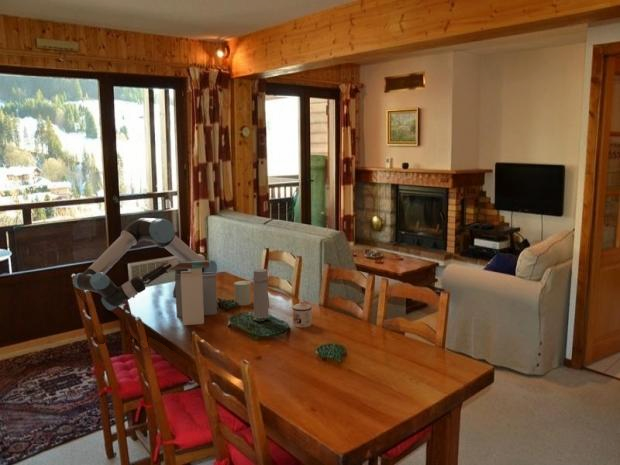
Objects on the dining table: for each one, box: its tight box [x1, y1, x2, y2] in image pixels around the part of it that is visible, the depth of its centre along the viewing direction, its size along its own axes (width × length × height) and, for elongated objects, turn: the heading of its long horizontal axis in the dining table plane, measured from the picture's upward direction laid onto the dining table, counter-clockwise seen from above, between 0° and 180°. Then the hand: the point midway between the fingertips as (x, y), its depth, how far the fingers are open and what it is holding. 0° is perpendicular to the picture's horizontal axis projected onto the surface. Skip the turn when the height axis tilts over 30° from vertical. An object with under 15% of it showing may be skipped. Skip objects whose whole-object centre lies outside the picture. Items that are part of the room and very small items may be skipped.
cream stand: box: [181, 268, 205, 326], centre depth 260 cm, size 10×10×27 cm
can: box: [233, 280, 252, 307], centre depth 293 cm, size 9×9×12 cm
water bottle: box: [252, 268, 270, 318], centre depth 262 cm, size 9×8×25 cm
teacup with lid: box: [292, 300, 313, 329], centre depth 254 cm, size 12×9×12 cm
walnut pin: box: [161, 259, 210, 271], centre depth 258 cm, size 3×22×3 cm, turn 103°
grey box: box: [174, 272, 218, 318], centre depth 273 cm, size 7×20×20 cm, turn 103°
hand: (177, 260), depth 256 cm, fingers closed on walnut pin, 3 cm apart
